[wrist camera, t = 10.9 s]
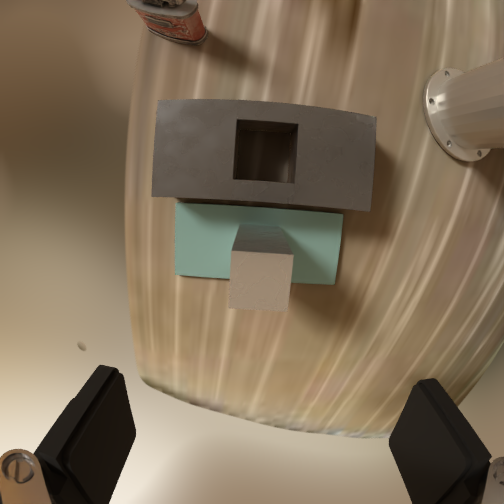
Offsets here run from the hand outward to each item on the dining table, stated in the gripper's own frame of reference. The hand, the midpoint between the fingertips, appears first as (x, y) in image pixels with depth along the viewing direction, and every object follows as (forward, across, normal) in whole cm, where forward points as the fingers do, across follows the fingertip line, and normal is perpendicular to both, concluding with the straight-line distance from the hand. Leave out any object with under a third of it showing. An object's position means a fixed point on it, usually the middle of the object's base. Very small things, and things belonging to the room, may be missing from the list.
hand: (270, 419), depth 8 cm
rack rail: (+26, 0, -9) cm, 28 cm away
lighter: (+26, +11, -25) cm, 38 cm away
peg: (+25, 0, 0) cm, 25 cm away
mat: (+26, 0, 0) cm, 26 cm away
